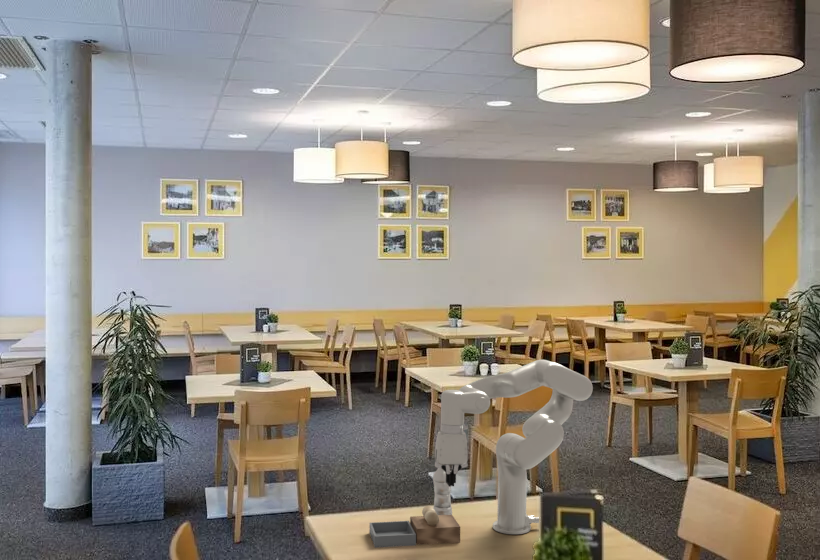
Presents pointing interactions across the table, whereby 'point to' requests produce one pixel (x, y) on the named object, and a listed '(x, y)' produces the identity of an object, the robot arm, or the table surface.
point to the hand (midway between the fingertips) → (450, 485)
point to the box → (392, 534)
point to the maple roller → (430, 515)
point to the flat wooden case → (436, 530)
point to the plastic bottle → (441, 493)
